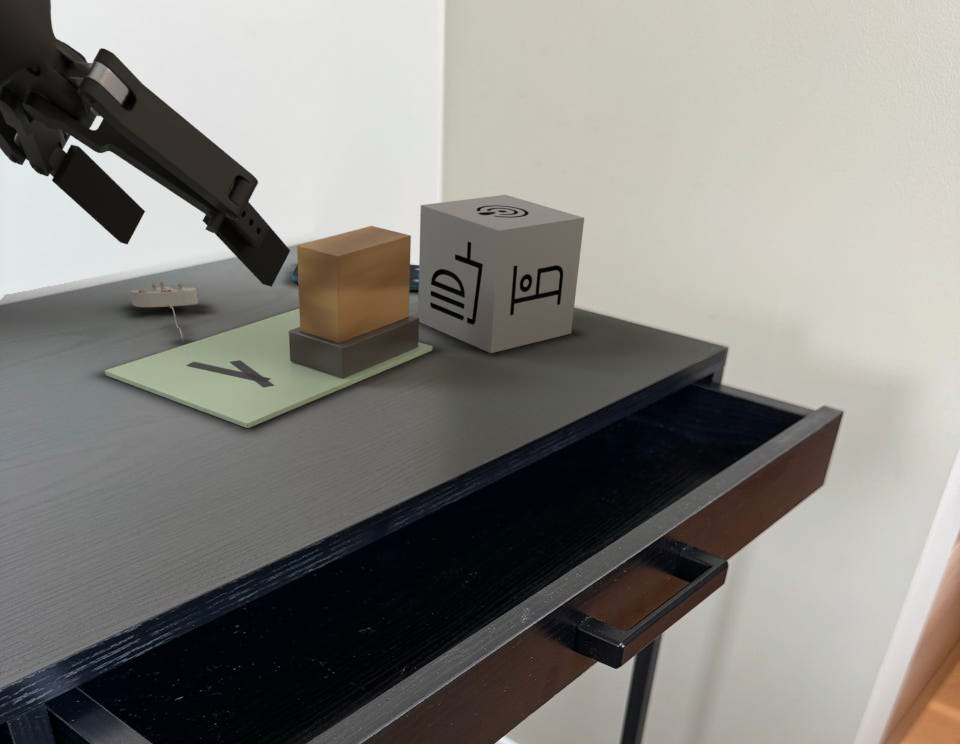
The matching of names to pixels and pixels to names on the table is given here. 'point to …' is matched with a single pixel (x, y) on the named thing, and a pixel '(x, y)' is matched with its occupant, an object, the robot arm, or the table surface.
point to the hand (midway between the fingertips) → (202, 246)
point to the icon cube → (498, 270)
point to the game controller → (165, 297)
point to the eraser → (353, 301)
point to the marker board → (242, 373)
